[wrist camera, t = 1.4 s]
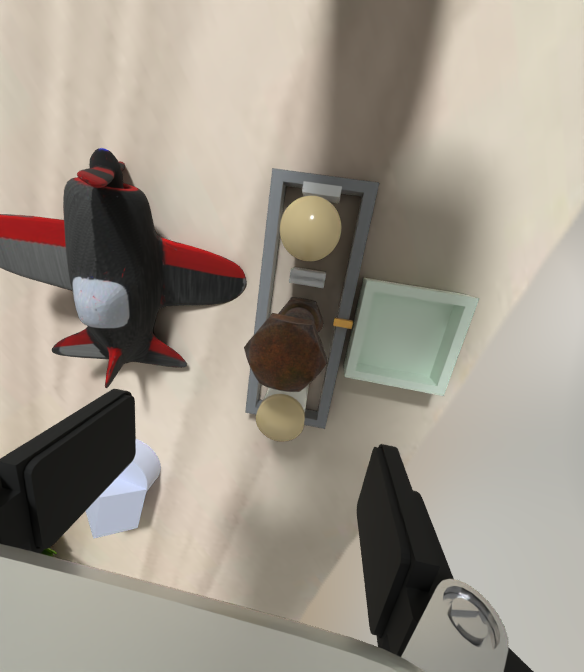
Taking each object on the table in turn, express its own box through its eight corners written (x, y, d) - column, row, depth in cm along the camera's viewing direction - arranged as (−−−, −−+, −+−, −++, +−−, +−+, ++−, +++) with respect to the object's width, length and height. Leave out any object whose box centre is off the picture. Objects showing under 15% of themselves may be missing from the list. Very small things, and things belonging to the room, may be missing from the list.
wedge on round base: (150, 508, 46) (165, 450, 42) (122, 550, 40) (136, 486, 35) (101, 488, 46) (111, 428, 42) (64, 527, 40) (72, 460, 35)
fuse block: (249, 404, 37) (241, 419, 34) (276, 173, 29) (269, 163, 25) (328, 420, 36) (327, 437, 33) (379, 187, 28) (386, 179, 24)
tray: (363, 277, 31) (367, 280, 28) (464, 294, 30) (479, 298, 27) (343, 366, 34) (344, 377, 31) (433, 383, 33) (443, 396, 30)
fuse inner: (298, 210, 29) (284, 191, 20) (341, 217, 29) (347, 200, 20) (292, 254, 31) (276, 256, 21) (332, 261, 31) (334, 265, 21)
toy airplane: (43, 318, 39) (-59, 392, 27) (-14, 113, 27) (-246, 73, 15) (236, 342, 45) (228, 413, 32) (260, 182, 33) (261, 195, 20)
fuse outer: (277, 355, 35) (258, 394, 25) (313, 362, 34) (307, 404, 25) (273, 387, 36) (253, 435, 27) (307, 394, 36) (300, 445, 26)
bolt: (331, 327, 33) (333, 385, 18) (292, 339, 34) (266, 403, 20) (315, 280, 31) (304, 305, 17) (275, 295, 32) (233, 329, 18)
